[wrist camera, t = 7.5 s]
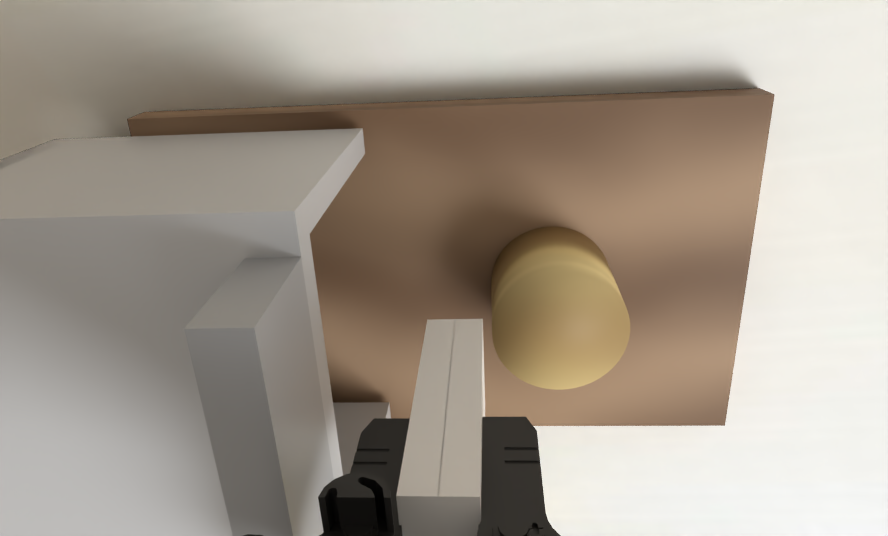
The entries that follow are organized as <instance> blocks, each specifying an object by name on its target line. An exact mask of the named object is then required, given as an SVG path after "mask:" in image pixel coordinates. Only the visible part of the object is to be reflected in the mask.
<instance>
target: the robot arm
mask: <svg viewBox="0 0 888 536" xmlns="http://www.w3.org/2000/svg"><path fill="white" fill-rule="evenodd" d="M318 500H319V507H320V513H321V519H322V525H323V531H324V532H323V533H322V534H321V535H319V536H560V535H559V534H558V533H557V532H556V531H555V530H554V529H553V528H552V526H551V525H550V523H549V522H548V520H547V516H546V513H545V504H544V495H543V486H542V476H541V467H540V457H539V450H538V439H537V431H536V429H535V428H534V427H533V425H532V424H531V423H530V421H529V420H528V419H527V417H485V382H484V346H483V319H435V320H427V325H426V330H425V336H424V342H423V347H422V353H421V359H420V364H419V370H418V376H417V381H416V387H415V393H414V398H413V404H412V410H411V415H410V418H374V419H373V420H372V421H371V422H370V423H369V424H368V426H367V427H366V428H365V429H364V430H363V431H362V432H361V435H360V438H359V442H358V446H357V452H356V453H355V456H354V460H353V465H352V467H351V471H350V474H345V475H343V476H341V477H338V478H336V479H334V480H332V481H331V482H330V483H329V484H327V485H326V486H325V487H324V488H323V490H322V491H321V493H320V495H319V496H318ZM243 536H263V535H253V534H247V535H243Z"/></svg>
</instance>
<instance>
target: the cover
mask: <svg viewBox="0 0 888 536" xmlns="http://www.w3.org/2000/svg"><path fill="white" fill-rule="evenodd" d="M364 155H365V147H364V137H363V128H355V129H327V130H299V131H271V132H243V133H216V134H188V135H160V136H132V137H104V138H76V139H54V140H52V141H49V142H46V143H44V144H41V145H38V146H36V147H33V148H30V149H28V150H25V151H23V152H20V153H17V154H15V155H12V156H9V157H7V158H4V159H1V160H0V536H243V535H247V534H253V535H263V536H319V535H321V534H322V533H323V532H324V531H323V525H322V519H321V513H320V507H319V500H318V496H319V495H320V493H321V491H322V490H323V488H324V487H325V486H326V485H327V484H329V483H330V482H331V481H332V480H334V479H336V478H338V477H341V476H343V475H345V474H350V471H351V467H352V465H353V460H354V456H355V453H356V452H357V446H358V442H359V438H360V435H361V432H362V431H363V430H364V429H365V428H366V427H367V426H368V424H369V423H370V422H371V421H372V420H373V419H374V418H391V414H390V404H389V402H368V403H333V400H332V393H331V385H330V378H329V371H328V364H327V357H326V349H325V342H324V335H323V328H322V321H321V313H320V306H319V299H318V292H317V284H316V277H315V270H314V263H313V256H312V248H311V241H310V233H311V231H312V230H313V228H314V227H315V226H316V224H317V223H318V221H319V220H320V218H321V217H322V215H323V214H324V213H325V211H326V210H327V208H328V207H329V205H330V204H331V202H332V201H333V199H334V198H335V197H336V195H337V194H338V192H339V191H340V189H341V188H342V186H343V185H344V184H345V182H346V181H347V179H348V178H349V176H350V175H351V173H352V172H353V170H354V169H355V168H356V166H357V165H358V163H359V162H360V160H361V159H362V157H363V156H364Z"/></svg>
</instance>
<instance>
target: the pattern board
mask: <svg viewBox="0 0 888 536" xmlns="http://www.w3.org/2000/svg"><path fill="white" fill-rule="evenodd" d="M773 101H774V94H772V93H769V92H767V91H765V90H762V89H760V88H754V89H728V90H702V91H676V92H650V93H624V94H598V95H572V96H546V97H520V98H494V99H468V100H443V101H417V102H391V103H365V104H339V105H313V106H287V107H261V108H235V109H209V110H183V111H158V112H144V113H141V114H139V115H136V116H133V117H131V118H128V119H127V121H128V125H129V129H130V134H131V137H132V136H160V135H188V134H216V133H243V132H271V131H299V130H327V129H355V128H363V137H364V147H365V155H364V156H363V157H362V159H361V160H360V162H359V163H358V165H357V166H356V168H355V169H354V170H353V172H352V173H351V175H350V176H349V178H348V179H347V181H346V182H345V184H344V185H343V186H342V188H341V189H340V191H339V192H338V194H337V195H336V197H335V198H334V199H333V201H332V202H331V204H330V205H329V207H328V208H327V210H326V211H325V213H324V214H323V215H322V217H321V218H320V220H319V221H318V223H317V224H316V226H315V227H314V228H313V230H312V231H311V233H310V241H311V248H312V256H313V263H314V270H315V277H316V284H317V292H318V299H319V306H320V313H321V321H322V328H323V335H324V342H325V349H326V357H327V364H328V371H329V378H330V385H331V393H332V400H333V403H368V402H389V404H390V414H391V418H410V415H411V410H412V404H413V398H414V393H415V387H416V381H417V376H418V370H419V364H420V359H421V353H422V347H423V342H424V336H425V330H426V325H427V320H435V319H483V346H484V382H485V417H527V419H528V420H529V421H530V423H531V424H532V425H533V426H681V425H725V420H726V414H727V407H728V400H729V394H730V387H731V380H732V374H733V367H734V360H735V354H736V347H737V340H738V334H739V327H740V320H741V314H742V307H743V300H744V294H745V287H746V281H747V274H748V267H749V261H750V254H751V247H752V241H753V234H754V227H755V221H756V214H757V207H758V201H759V194H760V187H761V181H762V174H763V167H764V161H765V154H766V147H767V141H768V134H769V127H770V121H771V114H772V107H773Z"/></svg>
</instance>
